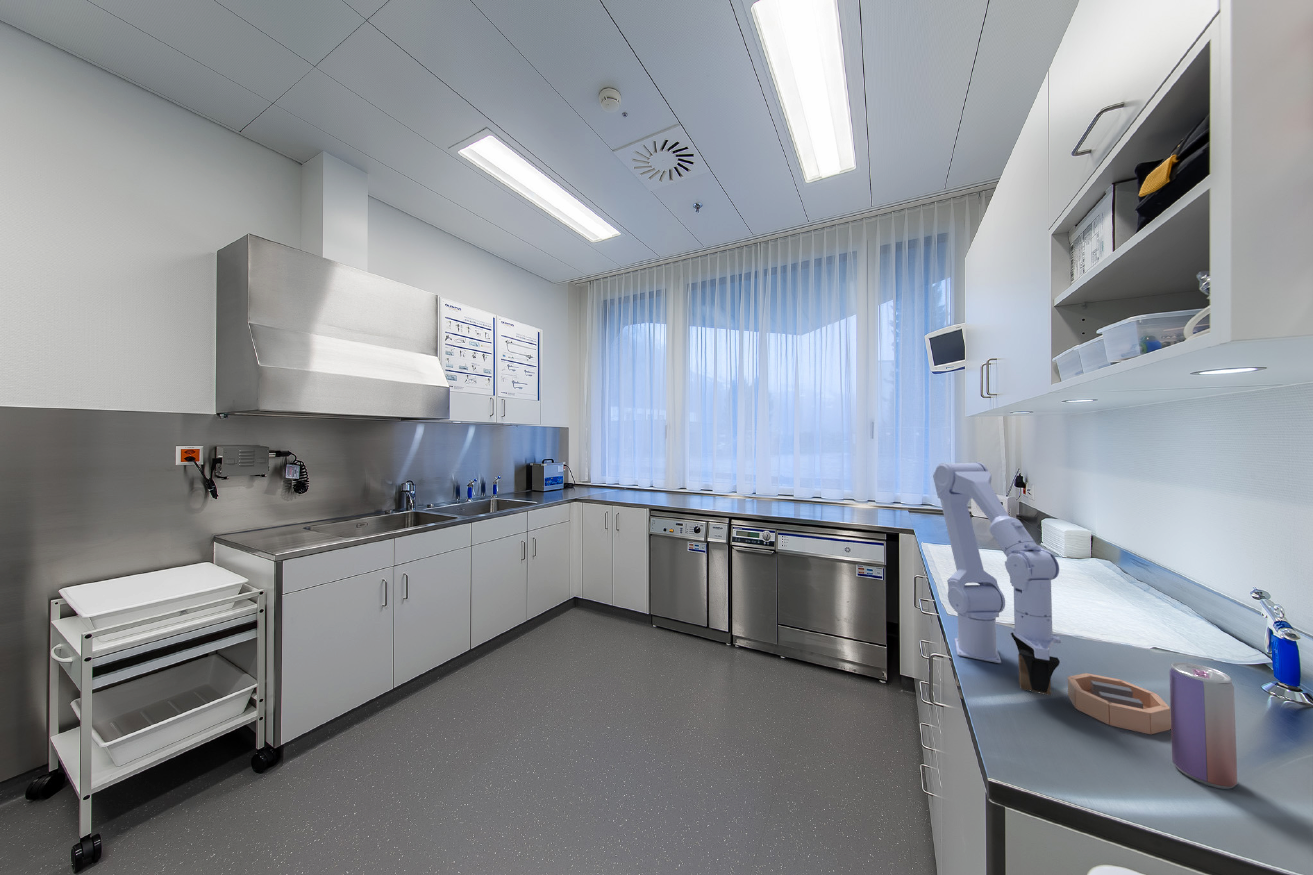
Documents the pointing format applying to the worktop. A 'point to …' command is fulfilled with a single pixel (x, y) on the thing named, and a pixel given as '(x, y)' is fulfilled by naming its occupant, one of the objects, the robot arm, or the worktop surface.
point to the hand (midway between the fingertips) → (1034, 681)
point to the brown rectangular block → (1027, 677)
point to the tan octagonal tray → (1119, 703)
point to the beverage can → (1203, 724)
